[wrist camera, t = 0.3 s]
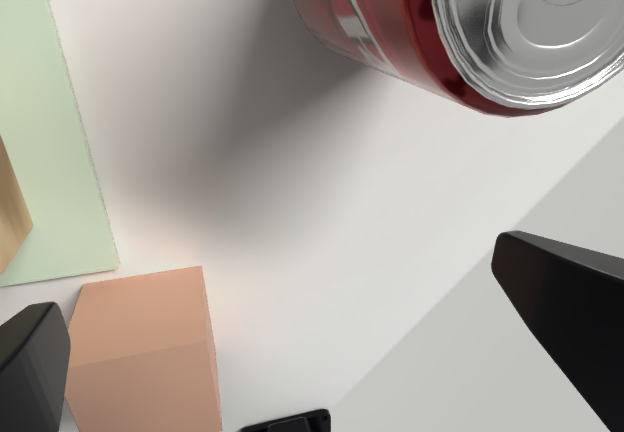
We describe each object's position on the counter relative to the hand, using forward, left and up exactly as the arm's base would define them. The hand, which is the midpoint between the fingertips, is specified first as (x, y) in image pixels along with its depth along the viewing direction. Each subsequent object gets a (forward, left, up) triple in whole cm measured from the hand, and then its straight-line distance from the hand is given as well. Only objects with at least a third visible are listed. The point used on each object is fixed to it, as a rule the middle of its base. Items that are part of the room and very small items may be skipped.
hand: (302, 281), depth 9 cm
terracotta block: (-11, +6, -14) cm, 19 cm away
